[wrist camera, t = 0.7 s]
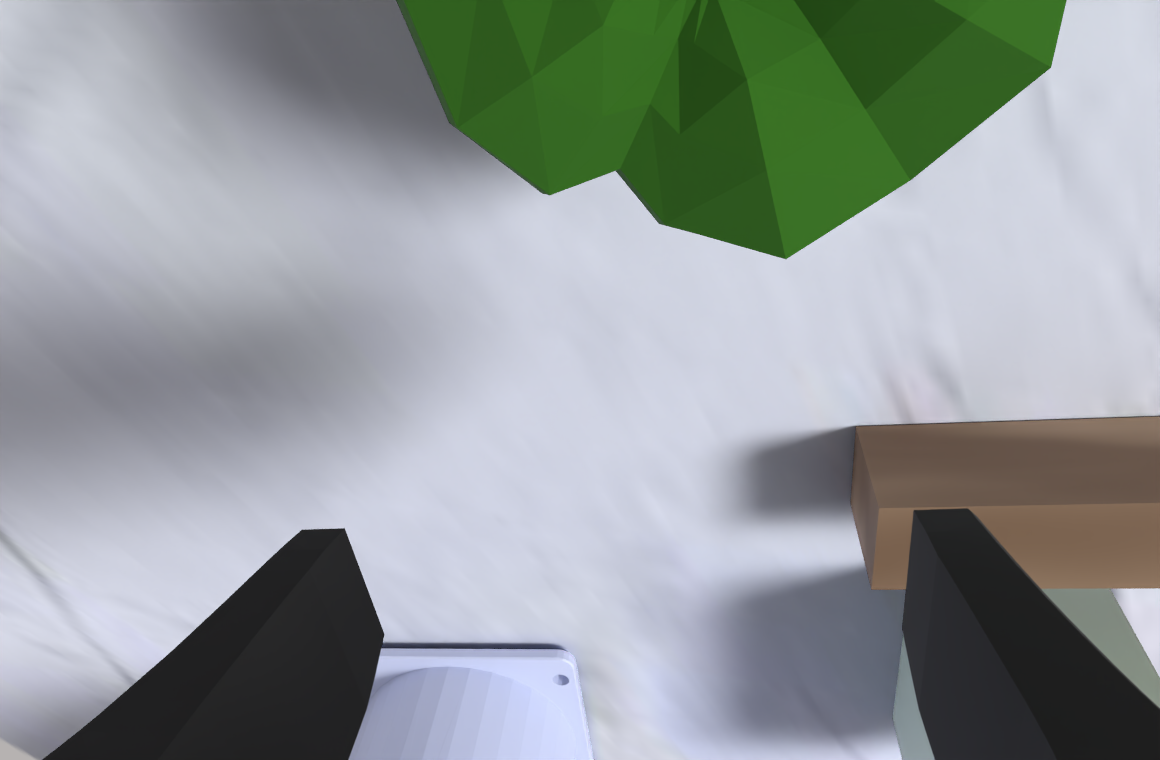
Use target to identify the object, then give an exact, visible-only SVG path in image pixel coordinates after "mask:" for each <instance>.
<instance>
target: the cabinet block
mask: <svg viewBox="0 0 1160 760" xmlns="http://www.w3.org/2000/svg"><path fill="white" fill-rule="evenodd" d="M1042 590H1043V592H1044V593H1045V594H1046V595H1047V596H1048V597H1049V598H1050V599H1051V600H1052V601H1053V602H1054V603H1055V604H1056V606H1057V607H1058V608H1059V609H1060V610H1061V611H1062V612H1063V613H1064V614H1065V615H1066V616H1067V617H1068V618H1069V619H1070V620H1071V621H1072V622H1073V623H1074V624H1075V625H1076V626H1077V627H1078V628H1079V629H1080V630H1081V631H1082V632H1083V633H1084V635H1085V636H1086V637H1087V638H1088V639H1089V640H1090V641H1091V642H1092V643H1093V644H1094V645H1095V646H1096V647H1097V648H1098V649H1099V650H1100V651H1101V652H1102V653H1103V654H1104V655H1105V656H1106V657H1107V658H1108V659H1109V660H1110V661H1111V662H1112V663H1113V664H1114V665H1115V666H1116V667H1117V668H1118V669H1119V670H1120V671H1121V672H1122V673H1123V674H1124V675H1125V676H1126V677H1127V678H1128V679H1130V680H1131V681H1132V682H1133V683H1134V684H1135V685H1136V686H1137V687H1138V688H1139V689H1140V690H1141V691H1142V692H1143V693H1144V694H1145V695H1146V696H1147V697H1148V698H1149V699H1151V700H1152V701H1153V702H1154V703H1155V704H1156V705H1157V706H1158V707H1159V708H1160V678H1159V676H1158V674H1157V672H1156V670H1155V669H1154V667H1153V665H1152V663H1151V661H1150V660H1149V658H1148V656H1147V654H1146V652H1145V651H1144V649H1143V647H1142V645H1141V643H1140V642H1139V640H1138V638H1137V636H1136V634H1135V633H1134V631H1133V629H1132V627H1131V625H1130V624H1129V622H1128V620H1127V618H1126V616H1125V615H1124V613H1123V611H1122V609H1121V607H1120V606H1119V604H1118V602H1117V600H1116V598H1115V597H1114V595H1113V593H1112V591H1111V589H1110V588H1106V589H1042ZM893 722H894V726H895V731H896V735H897V739H898V744H899V748H900V752H901V757H902V760H935V759H934V756H933V753H932V749H931V746H930V743H929V740H928V737H927V734H926V731H925V728H924V725H923V721H922V718H921V715H920V712H919V708H918V704H917V699H916V694H915V690H914V685H913V680H912V676H911V671H910V666H909V661H908V656H907V651H906V646H905V640H904V635H903V639H902V647H901V655H900V663H899V670H898V678H897V686H896V694H895V702H894V710H893Z"/></svg>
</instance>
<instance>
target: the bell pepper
mask: <svg viewBox="0 0 1160 760" xmlns="http://www.w3.org/2000/svg"><path fill="white" fill-rule="evenodd" d="M396 1H397V3H398V5H399V8H400V10H401V12H402V15H403V17H404V19H405V22H406V24H407V26H408V29H409V31H410V33H411V35H412V38H413V40H414V42H415V45H416V47H417V49H418V52H419V54H420V56H421V59H422V61H423V63H424V66H425V68H426V70H427V73H428V75H429V77H430V79H431V82H432V84H433V86H434V89H435V91H436V93H437V96H438V98H439V100H440V103H441V105H442V107H443V110H444V112H445V114H446V116H447V119H448V121H449V123H450V124H451V125H453V126H454V127H455V128H457V129H458V130H459V131H461V132H462V133H463V134H465V135H466V136H467V137H469V138H470V139H471V140H473V141H474V142H475V143H477V144H478V145H479V146H481V147H482V148H483V149H484V150H486V151H487V152H488V153H490V154H491V155H492V156H494V157H495V158H496V159H498V160H499V161H500V162H502V163H503V164H504V165H506V166H507V167H508V168H510V169H511V170H512V171H514V172H515V173H516V174H517V175H519V176H520V177H521V178H523V179H524V180H525V181H527V182H528V183H529V184H531V185H532V186H533V187H535V188H536V189H537V190H539V191H540V192H541V193H543V194H547V195H552V194H554V193H557V192H560V191H562V190H565V189H568V188H570V187H573V186H576V185H578V184H581V183H584V182H586V181H589V180H592V179H594V178H597V177H600V176H602V175H605V174H608V173H610V172H613V171H616V172H617V173H618V174H619V175H620V177H621V178H622V179H623V180H624V181H625V183H626V184H627V185H628V186H629V188H630V189H631V190H632V191H633V192H634V194H635V195H636V196H637V197H638V199H639V200H640V201H641V202H642V203H643V205H644V206H645V207H646V208H647V210H648V211H649V212H650V213H651V214H652V216H653V217H654V218H655V219H656V221H657V222H658V223H659V224H662V225H666V226H669V227H673V228H677V229H681V230H685V231H688V232H692V233H696V234H700V235H703V236H707V237H710V238H714V239H717V240H721V241H724V242H728V243H731V244H735V245H738V246H742V247H745V248H749V249H752V250H756V251H759V252H763V253H766V254H770V255H773V256H777V257H780V258H784V259H787V258H788V257H790V256H792V255H793V254H795V253H796V252H798V251H799V250H801V249H803V248H804V247H806V246H807V245H809V244H810V243H812V242H814V241H815V240H817V239H818V238H820V237H822V236H823V235H825V234H826V233H828V232H829V231H831V230H833V229H834V228H836V227H837V226H839V225H841V224H842V223H844V222H845V221H847V220H848V219H850V218H852V217H853V216H855V215H856V214H858V213H859V212H861V211H863V210H864V209H866V208H867V207H869V206H871V205H872V204H874V203H875V202H877V201H878V200H880V199H882V198H883V197H885V196H886V195H888V194H890V193H891V192H893V191H894V190H896V189H897V188H899V187H901V186H902V185H904V184H905V183H907V182H908V181H910V180H911V179H913V178H914V177H915V176H916V175H918V174H919V173H920V172H921V171H923V170H924V169H925V168H926V167H928V166H929V165H930V164H931V163H933V162H934V161H935V160H936V159H938V158H939V157H940V156H941V155H942V154H944V153H945V152H946V151H947V150H949V149H950V148H951V147H952V146H954V145H955V144H956V143H957V142H959V141H960V140H961V139H962V138H964V137H965V136H966V135H967V134H969V133H970V132H971V131H972V130H974V129H975V128H976V127H977V126H979V125H980V124H981V123H982V122H984V121H985V120H986V119H987V118H989V117H990V116H991V115H992V114H994V113H995V112H996V111H997V110H999V109H1000V108H1001V107H1002V106H1003V105H1005V104H1006V103H1007V102H1008V101H1010V100H1011V99H1012V98H1013V97H1015V96H1016V95H1017V94H1018V93H1020V92H1021V91H1022V90H1023V89H1025V88H1026V87H1027V86H1028V85H1030V84H1031V83H1032V82H1033V81H1035V80H1036V79H1037V78H1038V77H1040V76H1041V75H1042V74H1043V73H1045V72H1046V71H1047V70H1048V69H1050V68H1051V65H1052V61H1053V56H1054V52H1055V48H1056V43H1057V39H1058V35H1059V30H1060V26H1061V22H1062V17H1063V13H1064V9H1065V4H1066V0H396Z"/></svg>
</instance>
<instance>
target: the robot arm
mask: <svg viewBox="0 0 1160 760" xmlns="http://www.w3.org/2000/svg"><path fill="white" fill-rule="evenodd" d="M902 630H903V635H904V640H905V646H906V651H907V656H908V661H909V666H910V671H911V676H912V680H913V685H914V690H915V694H916V699H917V704H918V708H919V712H920V715H921V718H922V721H923V725H924V728H925V731H926V734H927V737H928V740H929V743H930V746H931V749H932V753H933V756H934V759H935V760H1160V708H1159V707H1158V706H1157V705H1156V704H1155V703H1154V702H1153V701H1152V700H1151V699H1149V698H1148V697H1147V696H1146V695H1145V694H1144V693H1143V692H1142V691H1141V690H1140V689H1139V688H1138V687H1137V686H1136V685H1135V684H1134V683H1133V682H1132V681H1131V680H1130V679H1128V678H1127V677H1126V676H1125V675H1124V674H1123V673H1122V672H1121V671H1120V670H1119V669H1118V668H1117V667H1116V666H1115V665H1114V664H1113V663H1112V662H1111V661H1110V660H1109V659H1108V658H1107V657H1106V656H1105V655H1104V654H1103V653H1102V652H1101V651H1100V650H1099V649H1098V648H1097V647H1096V646H1095V645H1094V644H1093V643H1092V642H1091V641H1090V640H1089V639H1088V638H1087V637H1086V636H1085V635H1084V633H1083V632H1082V631H1081V630H1080V629H1079V628H1078V627H1077V626H1076V625H1075V624H1074V623H1073V622H1072V621H1071V620H1070V619H1069V618H1068V617H1067V616H1066V615H1065V614H1064V613H1063V612H1062V611H1061V610H1060V609H1059V608H1058V607H1057V606H1056V604H1055V603H1054V602H1053V601H1052V600H1051V599H1050V598H1049V597H1048V596H1047V595H1046V594H1045V593H1044V592H1043V590H1042V589H1041V588H1040V587H1039V586H1038V585H1037V584H1036V583H1035V582H1034V581H1033V580H1032V578H1031V577H1030V576H1029V575H1028V574H1027V573H1026V572H1025V571H1024V570H1023V569H1022V567H1021V566H1020V565H1019V564H1018V563H1017V562H1016V561H1015V560H1014V558H1013V557H1012V556H1011V555H1010V554H1009V553H1008V552H1007V550H1006V549H1005V548H1004V547H1003V546H1002V545H1001V544H1000V542H999V541H998V540H997V539H996V538H995V537H994V536H993V534H992V533H991V532H990V531H989V530H988V529H987V527H986V526H985V525H984V524H983V523H982V522H981V520H980V519H979V518H978V517H977V516H976V515H975V514H974V513H973V512H972V511H970V510H969V509H968V508H961V509H931V510H914V511H913V521H912V532H911V542H910V552H909V563H908V573H907V583H906V594H905V604H904V614H903V625H902ZM383 638H384V632H383V630H382V627H381V624H380V622H379V619H378V616H377V614H376V611H375V608H374V606H373V603H372V600H371V598H370V595H369V592H368V590H367V587H366V584H365V582H364V579H363V576H362V574H361V571H360V568H359V566H358V563H357V560H356V558H355V555H354V552H353V550H352V547H351V544H350V542H349V539H348V536H347V534H346V531H345V528H344V529H314V530H301V531H300V532H299V533H298V534H297V535H296V536H294V537H293V538H292V539H291V540H290V541H289V542H288V543H286V544H285V545H284V546H283V547H282V548H281V549H280V550H279V551H278V552H277V553H276V554H275V555H273V556H272V557H271V558H270V559H269V560H268V561H267V562H266V563H265V564H264V565H263V566H262V567H261V568H260V569H259V570H258V571H257V572H256V573H254V574H253V575H252V576H251V577H250V578H249V579H248V580H247V581H246V582H245V583H244V584H243V585H242V586H241V587H240V588H239V589H238V590H237V591H236V592H235V593H234V594H232V595H231V596H230V597H229V598H228V599H227V600H226V601H225V602H224V603H223V604H222V605H221V606H220V607H219V608H218V609H217V610H215V611H214V612H213V613H212V614H211V615H210V616H209V617H208V618H207V619H206V620H205V621H204V622H203V623H202V624H201V625H199V626H198V627H197V628H196V629H195V630H194V631H193V632H192V633H191V634H190V635H189V636H188V637H187V638H186V639H184V640H183V641H182V642H181V643H180V644H179V645H178V646H177V647H176V648H175V649H174V650H173V651H172V652H170V653H169V654H168V655H167V656H166V657H165V658H164V659H162V660H161V661H160V662H159V663H158V664H157V665H156V666H154V667H153V668H152V669H151V670H150V671H149V672H147V673H146V674H145V675H144V676H143V677H142V678H141V679H139V680H138V681H137V682H136V683H135V684H134V685H133V686H131V687H130V688H129V689H128V690H127V691H126V692H124V693H123V694H122V695H121V696H120V697H119V698H118V699H116V700H115V701H114V702H113V703H112V704H111V705H110V706H108V707H107V708H106V709H105V710H104V711H103V712H101V713H100V714H99V715H98V716H97V717H96V718H94V719H93V720H92V721H91V722H89V723H88V724H87V725H86V726H85V727H83V728H82V729H81V730H80V731H78V732H77V733H76V734H75V735H73V736H72V737H71V738H70V739H68V740H67V741H66V742H65V743H63V744H62V745H61V746H60V747H58V748H57V749H56V750H54V751H53V752H52V753H50V754H49V755H48V756H47V757H45V758H44V759H43V760H594V757H593V752H592V746H591V741H590V735H589V730H588V724H587V719H586V713H585V708H584V702H583V697H582V691H581V686H580V680H579V675H578V669H577V664H576V660H575V658H574V656H573V655H572V654H571V653H569V652H567V651H565V650H559V649H407V648H381V647H382V643H383Z"/></svg>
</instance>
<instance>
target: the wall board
mask: <svg viewBox="0 0 1160 760" xmlns="http://www.w3.org/2000/svg"><path fill="white" fill-rule="evenodd" d="M850 504H851V508H852V512H853V516H854V520H855V524H856V528H857V533H858V537H859V541H860V545H861V549H862V553H863V557H864V561H865V565H866V569H867V574H868V578H869V582H870V586H871V590H897V589H906V583H907V573H908V563H909V552H910V542H911V532H912V521H913V511H914V510H931V509H961V508H968V509H969V510H970V511H972V512H973V513H974V514H975V515H976V516H977V517H978V518H979V519H980V520H981V522H982V523H983V524H984V525H985V526H986V527H987V529H988V530H989V531H990V532H991V533H992V534H993V536H994V537H995V538H996V539H997V540H998V541H999V542H1000V544H1001V545H1002V546H1003V547H1004V548H1005V549H1006V550H1007V552H1008V553H1009V554H1010V555H1011V556H1012V557H1013V558H1014V560H1015V561H1016V562H1017V563H1018V564H1019V565H1020V566H1021V567H1022V569H1023V570H1024V571H1025V572H1026V573H1027V574H1028V575H1029V576H1030V577H1031V578H1032V580H1033V581H1034V582H1035V583H1036V584H1037V585H1038V586H1039V587H1040V588H1041V589H1106V588H1160V416H1159V417H1129V418H1099V419H1068V420H1038V421H1008V422H978V423H948V424H917V425H887V426H857V427H856V431H855V445H854V460H853V474H852V488H851V503H850Z"/></svg>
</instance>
